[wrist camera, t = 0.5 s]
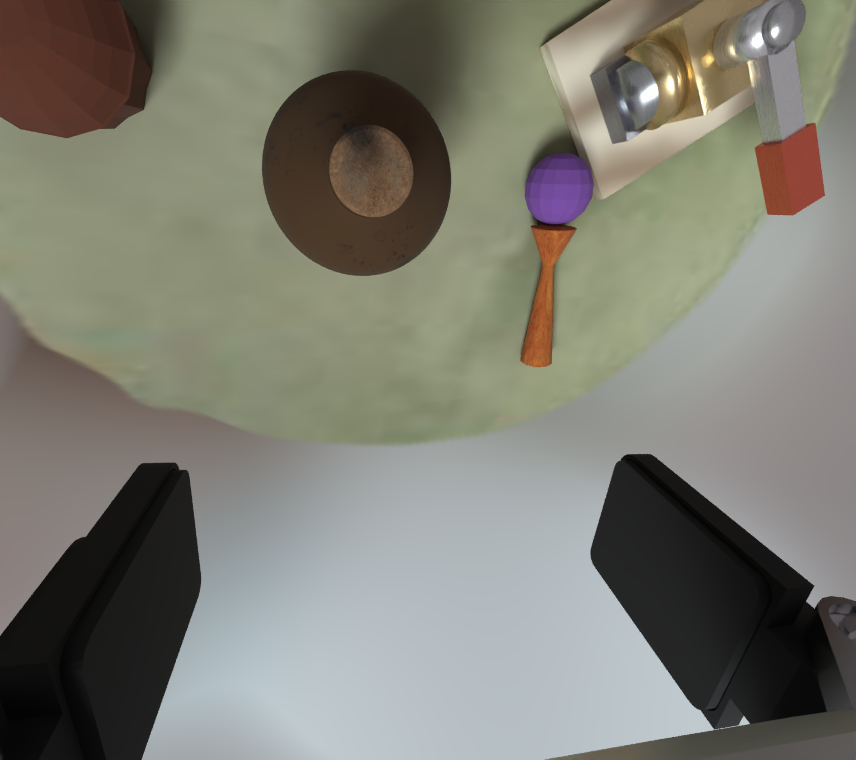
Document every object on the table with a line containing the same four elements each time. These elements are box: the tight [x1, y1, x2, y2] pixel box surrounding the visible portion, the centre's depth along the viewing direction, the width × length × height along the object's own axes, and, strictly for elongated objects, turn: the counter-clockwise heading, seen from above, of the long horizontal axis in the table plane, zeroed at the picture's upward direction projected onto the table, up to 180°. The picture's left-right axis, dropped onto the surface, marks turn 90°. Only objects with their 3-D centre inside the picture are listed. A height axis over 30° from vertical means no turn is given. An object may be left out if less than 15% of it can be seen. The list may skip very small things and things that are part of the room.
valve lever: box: [713, 0, 825, 215], centre depth 33 cm, size 14×3×4 cm, turn 31°
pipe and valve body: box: [590, 0, 769, 144], centre depth 36 cm, size 7×13×7 cm, turn 121°
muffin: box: [0, 0, 152, 138], centre depth 28 cm, size 12×11×10 cm
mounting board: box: [540, 0, 755, 199], centre depth 40 cm, size 14×18×2 cm
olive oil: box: [262, 71, 451, 276], centre depth 28 cm, size 11×11×25 cm
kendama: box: [521, 153, 594, 367], centre depth 43 cm, size 6×6×20 cm
